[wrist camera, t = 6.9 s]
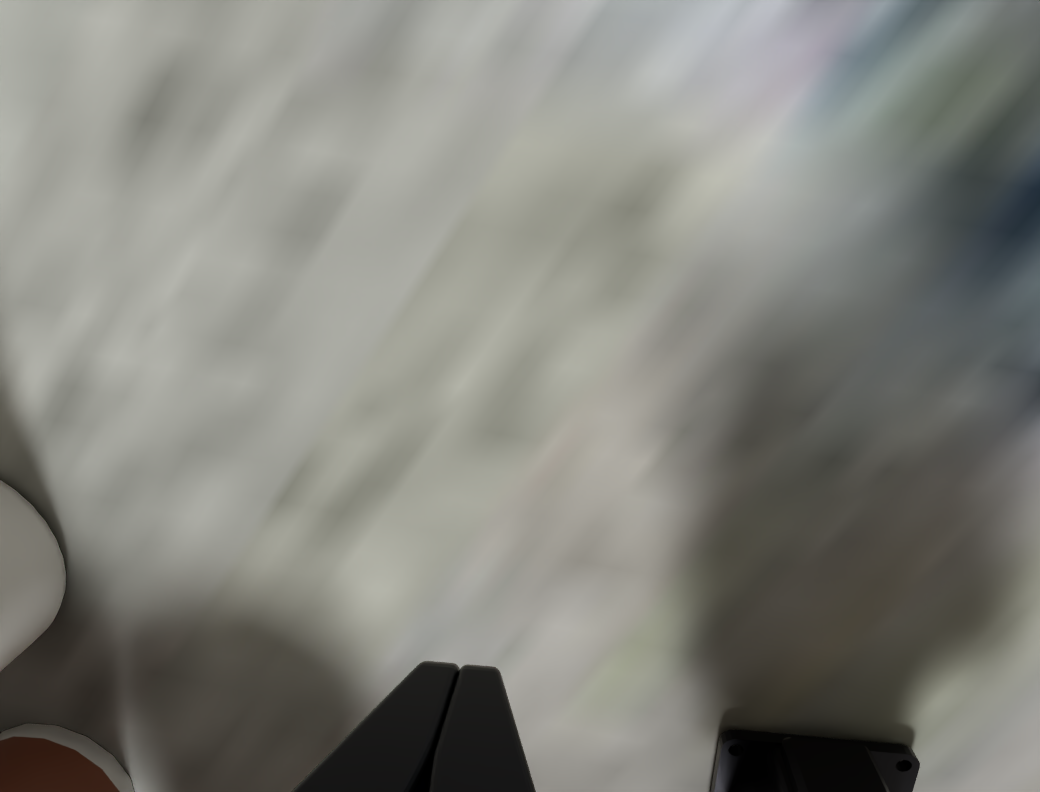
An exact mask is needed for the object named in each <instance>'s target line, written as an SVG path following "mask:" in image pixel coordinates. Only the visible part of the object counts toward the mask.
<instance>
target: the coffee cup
mask: <svg viewBox="0 0 1040 792" xmlns="http://www.w3.org/2000/svg"><path fill="white" fill-rule="evenodd" d="M0 792H134V789H133V786H132V782H131V778H130V777H129V776H128V774H127V773H126V772H125V771H124V769H123V768H122V767H121V765H120V764H119V763H118V761H117V760H116V759H115V757H114V756H113V755H112V754H110V753H109V752H108V751H106V750H105V749H103V748H102V747H101V746H99V745H98V744H96V743H95V742H94V741H92V740H91V739H89V738H88V737H86V736H84V735H81V734H78V733H76V732H73V731H70V730H68V729H65V728H62V727H60V726H57V725H44V724H28V723H27V724H23V725H20V726H17V727H14V728H11V729H8V730H5V731H3V732H2V733H1V734H0Z"/></svg>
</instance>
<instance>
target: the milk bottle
mask: <svg viewBox="0 0 1040 792" xmlns="http://www.w3.org/2000/svg"><path fill="white" fill-rule="evenodd" d="M65 589H66V571H65V566H64V559H63V555H62V553H61V550H60V548H59V545H58V543H57V540H56V538H55V536H54V535H53V533H52V531H51V530H50V528H49V526H48V525H47V523H46V521H45V520H44V519H43V518H42V517H41V515H40V514H39V513H38V512H37V511H36V509H35V508H34V507H33V506H32V504H30V503H29V502H28V501H27V500H26V499H25V498H23V497H22V496H21V495H20V494H19V493H18V492H17V491H16V490H15V489H13V488H12V487H10V486H8V485H7V484H5V483H4V482H2V481H1V480H0V671H1V670H3V669H4V668H5V667H6V666H7V665H8V664H9V663H11V662H12V661H13V660H14V659H15V658H16V657H17V656H19V655H20V654H21V653H22V652H23V651H24V650H25V649H26V648H27V647H29V646H30V645H31V644H32V643H33V642H34V641H35V640H36V639H37V638H38V637H39V636H40V635H41V634H43V633H44V632H45V631H46V630H47V629H48V627H49V626H50V625H51V623H52V622H53V620H54V619H55V617H56V615H57V613H58V611H59V608H60V606H61V603H62V599H63V596H64V593H65Z"/></svg>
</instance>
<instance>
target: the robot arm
mask: <svg viewBox="0 0 1040 792" xmlns="http://www.w3.org/2000/svg"><path fill="white" fill-rule="evenodd" d="M732 745H738V746H732ZM901 760H903V761H901ZM919 767H920V763H919V761H918V759H917V757H916V756H915V754H914V752H913V750H912V749H911V748H910V747H908V746H906V745H901V744H890V743H879V742H868V741H857V740H846V739H835V738H824V737H813V736H801V735H790V734H779V733H768V732H757V731H746V730H728V731H726V732H724V733H723V734H722V735H721V736H720V738H719V742H718V749H717V755H716V761H715V768H714V774H713V780H712V787H711V792H912V791H913V788H914V784H915V781H916V778H917V774H918V771H919ZM292 792H536V791H535V788H534V784H533V781H532V778H531V774H530V771H529V767H528V764H527V761H526V757H525V754H524V751H523V747H522V744H521V741H520V737H519V734H518V730H517V727H516V724H515V720H514V717H513V714H512V710H511V707H510V703H509V700H508V697H507V693H506V690H505V687H504V683H503V680H502V677H501V673H500V671H499V670H498V669H497V668H496V667H490V666H479V665H464V666H462V668H461V669H459V667H458V666H457V665H456V664H454V663H445V662H433V661H424V662H422V663H420V664H419V665H418V666H417V667H416V668H415V669H414V670H413V671H412V672H411V673H410V674H409V675H408V676H407V677H406V678H405V679H404V680H403V681H402V682H401V683H400V684H399V685H398V686H397V687H396V688H395V689H394V690H393V691H392V692H391V693H390V694H389V695H388V696H387V697H386V698H385V699H384V700H383V701H382V702H381V703H380V704H379V705H378V706H377V707H376V708H375V709H374V710H373V711H372V712H371V713H370V714H369V715H368V716H367V717H366V718H365V719H364V720H363V721H362V722H361V723H360V724H359V725H358V726H357V727H356V728H355V729H354V730H353V731H352V732H351V733H350V734H349V735H348V736H347V737H346V738H345V739H344V740H343V741H342V742H341V743H340V744H339V745H338V746H337V747H336V748H335V749H334V750H333V751H332V752H331V753H330V754H329V755H328V756H327V757H326V758H325V759H324V760H323V761H322V762H321V763H320V764H319V765H318V766H317V767H316V768H315V769H314V770H313V771H312V772H311V773H310V774H309V775H308V776H307V777H306V778H305V779H304V780H303V781H302V782H301V783H300V784H299V785H298V786H297V787H296V788H295V789H294V790H293V791H292Z"/></svg>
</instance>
